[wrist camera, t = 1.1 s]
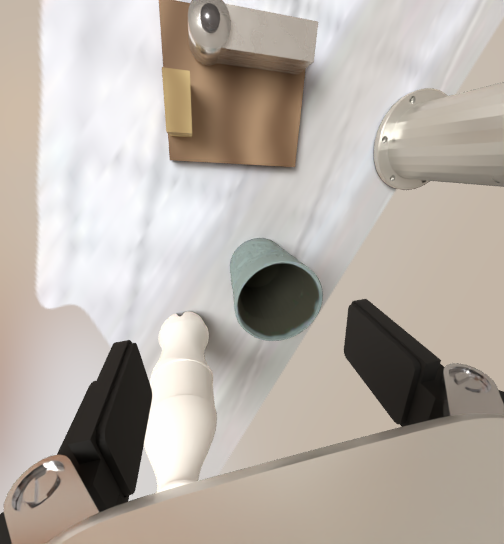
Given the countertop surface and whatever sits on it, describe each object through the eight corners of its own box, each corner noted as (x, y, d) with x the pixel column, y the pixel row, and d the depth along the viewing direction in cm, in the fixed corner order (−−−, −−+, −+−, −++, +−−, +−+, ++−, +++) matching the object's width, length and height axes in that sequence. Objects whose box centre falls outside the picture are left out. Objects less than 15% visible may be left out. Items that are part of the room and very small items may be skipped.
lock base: (304, 32, 28) (330, 2, 23) (290, 166, 34) (309, 167, 28) (160, 6, 25) (151, -37, 20) (170, 160, 31) (166, 159, 25)
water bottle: (204, 302, 39) (220, 490, 17) (210, 339, 42) (232, 540, 20) (156, 310, 38) (104, 525, 16) (166, 347, 41) (136, 572, 19)
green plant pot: (286, 289, 41) (319, 334, 31) (225, 298, 40) (238, 349, 29) (287, 228, 37) (326, 256, 27) (219, 235, 36) (231, 267, 25)
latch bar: (189, 63, 26) (188, 40, 21) (187, 16, 24) (186, -19, 20) (297, 77, 28) (319, 61, 24) (301, 36, 27) (325, 9, 22)
